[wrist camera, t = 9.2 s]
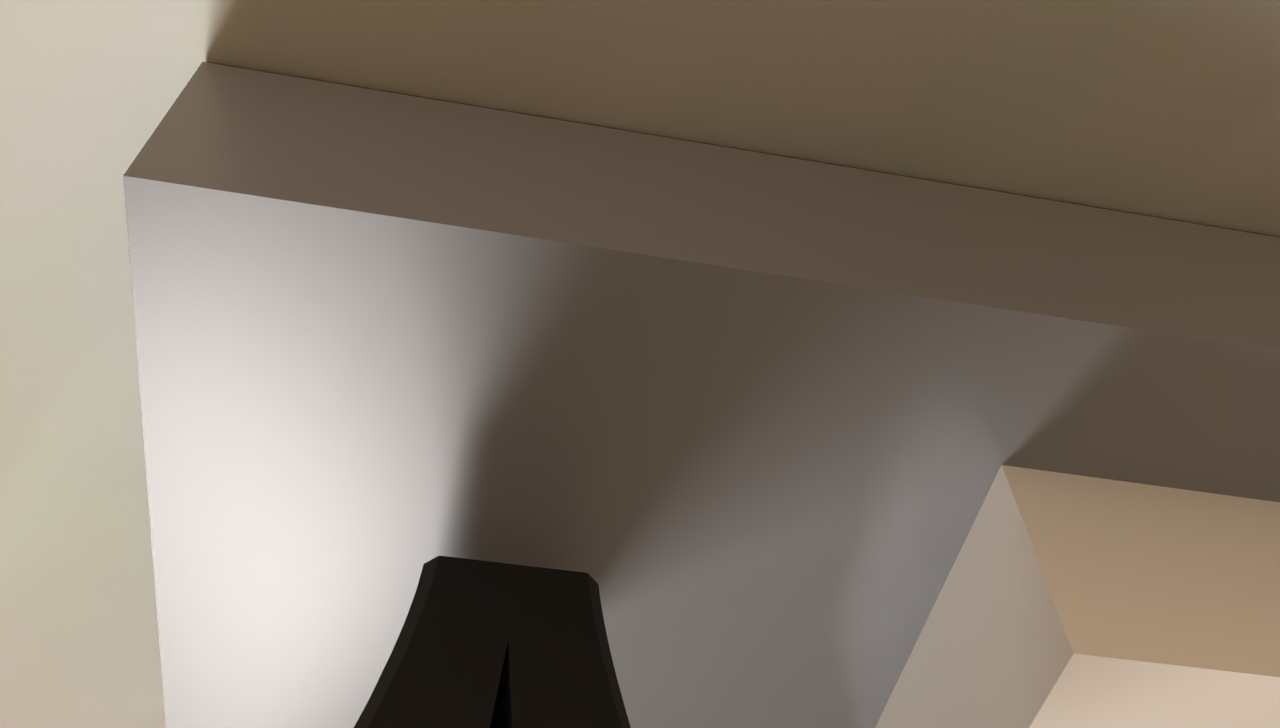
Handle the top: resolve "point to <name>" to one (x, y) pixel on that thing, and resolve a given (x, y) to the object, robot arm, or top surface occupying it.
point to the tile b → (1102, 612)
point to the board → (630, 391)
